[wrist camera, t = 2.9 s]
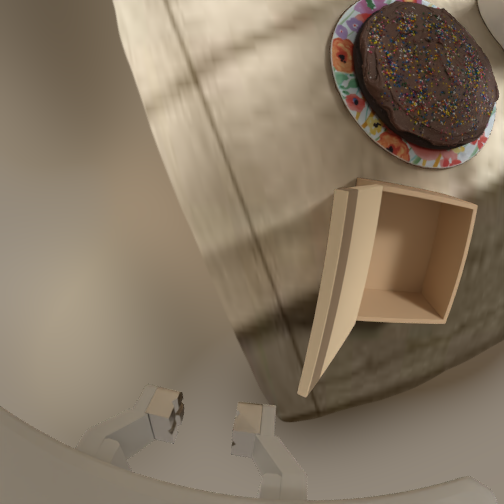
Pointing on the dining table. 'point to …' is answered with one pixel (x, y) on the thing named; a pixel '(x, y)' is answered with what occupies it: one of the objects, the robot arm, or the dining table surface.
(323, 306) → the lid
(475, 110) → the chocolate cake
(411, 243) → the carton
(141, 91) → the dining table surface
